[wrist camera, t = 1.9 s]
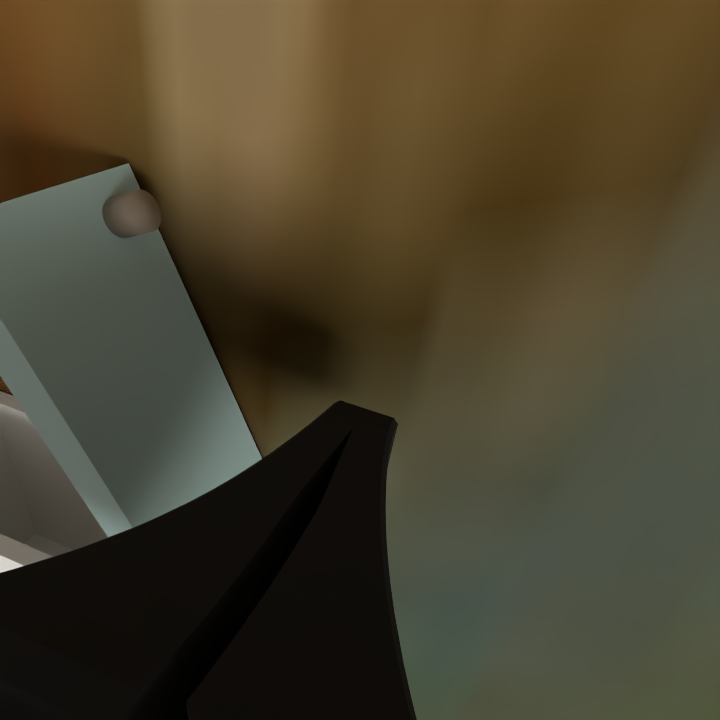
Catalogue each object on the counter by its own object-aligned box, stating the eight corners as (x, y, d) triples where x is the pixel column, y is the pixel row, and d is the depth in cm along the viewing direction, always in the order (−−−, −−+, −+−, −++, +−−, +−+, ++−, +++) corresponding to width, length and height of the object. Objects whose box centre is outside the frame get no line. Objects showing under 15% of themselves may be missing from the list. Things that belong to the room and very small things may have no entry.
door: (249, 479, 17) (152, 617, 13) (104, 170, 13) (-108, 236, 9) (298, 479, 16) (209, 626, 12) (159, 153, 12) (-43, 216, 8)
